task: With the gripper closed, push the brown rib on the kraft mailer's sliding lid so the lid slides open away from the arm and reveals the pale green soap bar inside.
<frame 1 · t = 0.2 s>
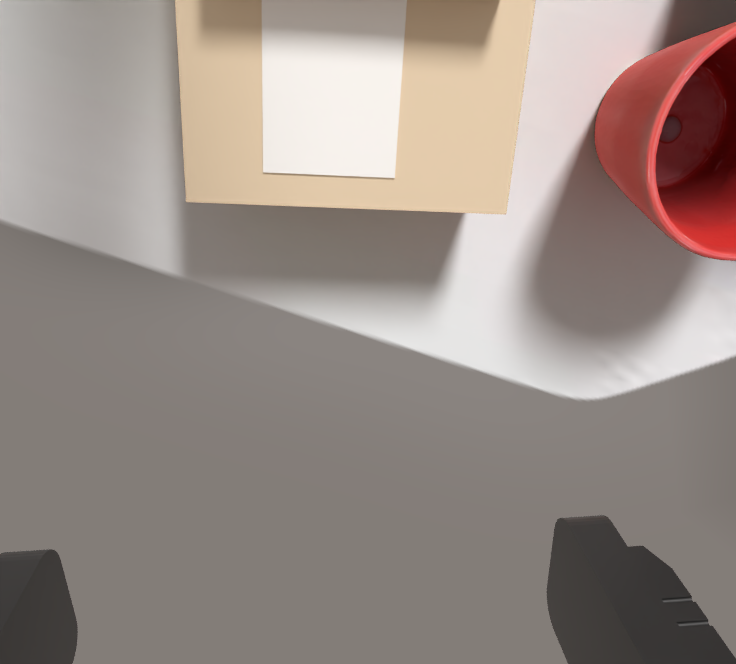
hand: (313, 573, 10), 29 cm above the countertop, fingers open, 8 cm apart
flower pot: (657, 125, 37), on the countertop
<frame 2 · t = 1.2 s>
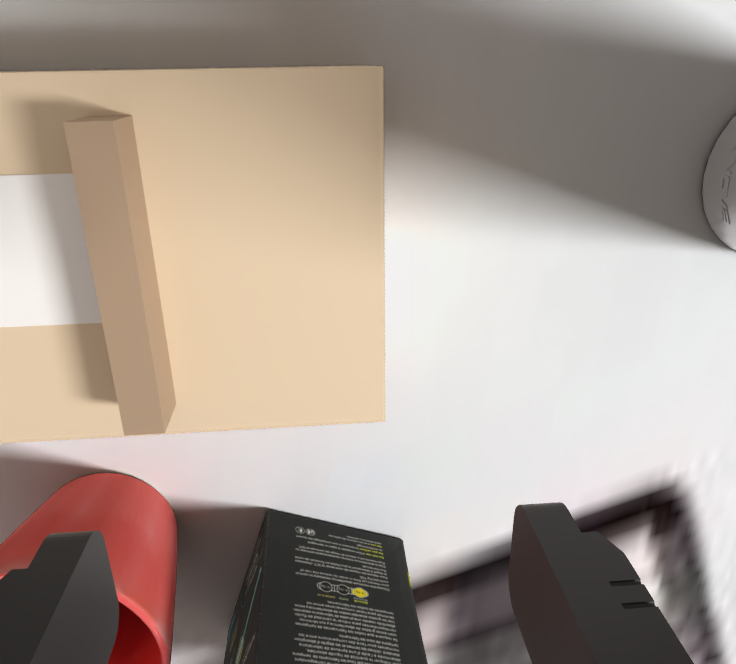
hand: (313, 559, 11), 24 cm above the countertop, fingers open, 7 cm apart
tampon box: (314, 581, 42), on the countertop
mailer: (171, 230, 32), on the countertop
flower pot: (113, 521, 39), on the countertop
lid: (130, 280, 25), point 8 cm above the countertop, slide at 0.0 cm
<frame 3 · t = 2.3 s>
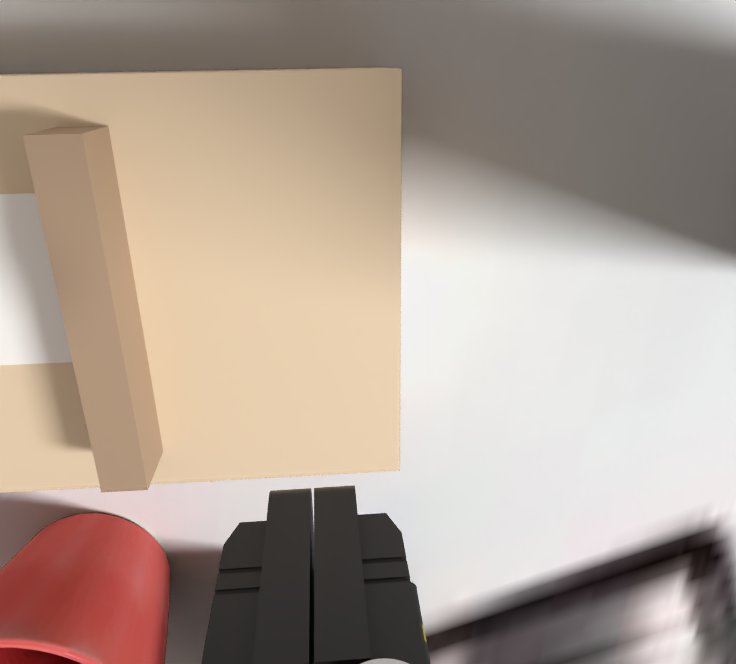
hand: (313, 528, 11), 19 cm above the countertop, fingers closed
tampon box: (319, 628, 39), on the countertop
mailer: (162, 251, 29), on the countertop
flower pot: (100, 564, 35), on the countertop
lid: (108, 315, 21), point 8 cm above the countertop, slide at 0.0 cm
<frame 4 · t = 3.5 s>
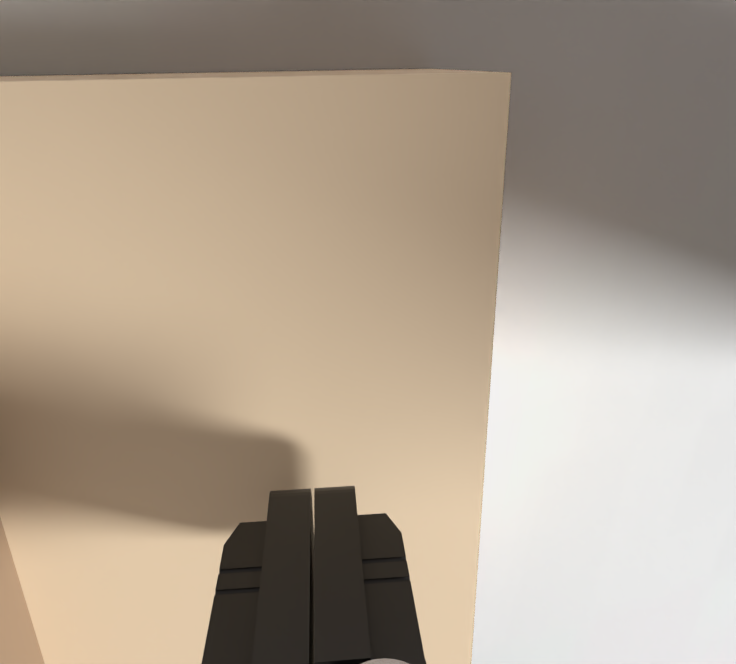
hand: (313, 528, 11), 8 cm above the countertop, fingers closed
mailer: (83, 355, 18), on the countertop
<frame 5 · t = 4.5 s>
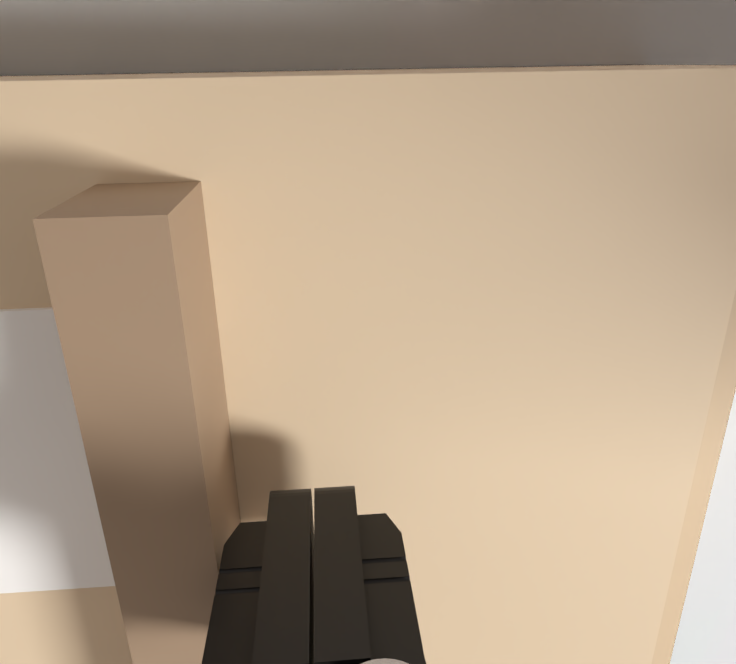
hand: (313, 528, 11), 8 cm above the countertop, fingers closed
mailer: (281, 344, 19), on the countertop
lid: (188, 524, 11), point 8 cm above the countertop, slide at 1.3 cm, touching gripper
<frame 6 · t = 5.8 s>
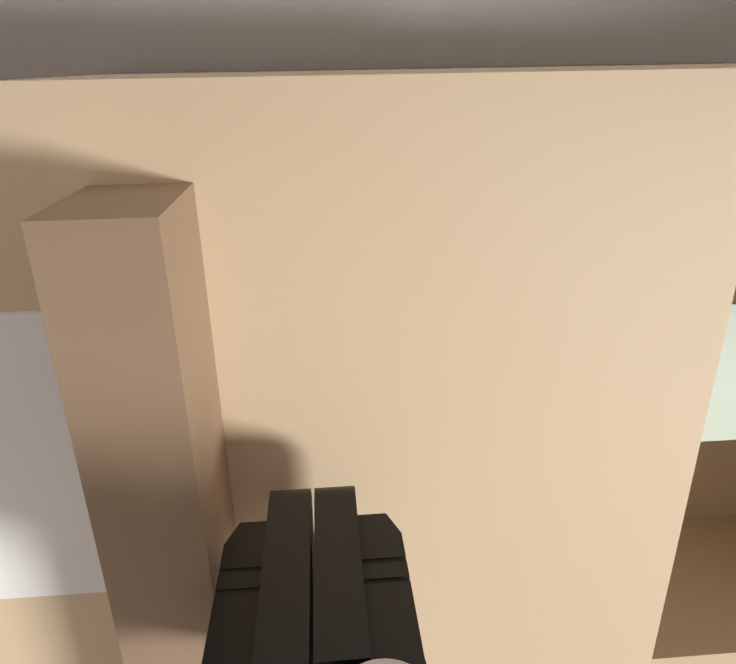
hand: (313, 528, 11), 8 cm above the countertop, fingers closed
mailer: (496, 336, 19), on the countertop
lid: (181, 530, 11), point 8 cm above the countertop, slide at 7.9 cm, touching gripper
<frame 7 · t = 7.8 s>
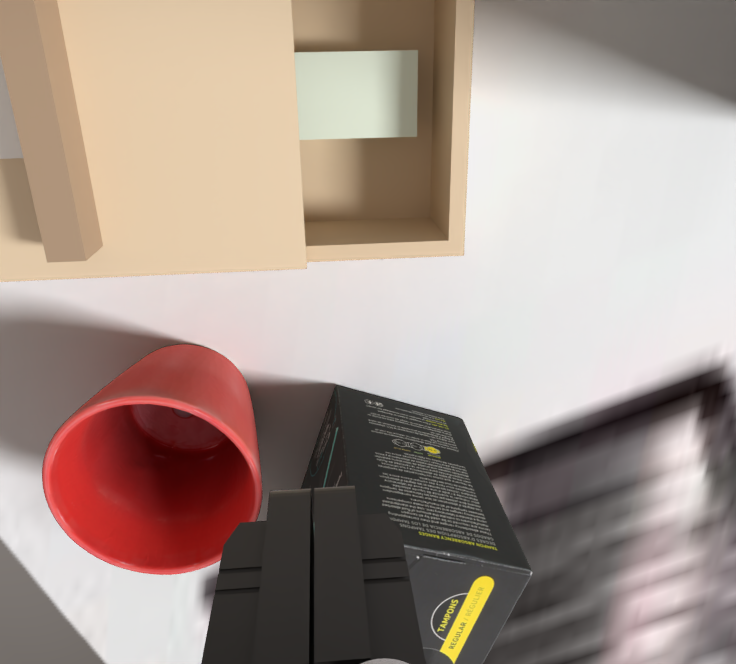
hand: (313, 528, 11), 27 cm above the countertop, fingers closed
tampon box: (376, 463, 44), on the countertop
mailer: (258, 95, 34), on the countertop
flower pot: (188, 397, 40), on the countertop
lid: (50, 108, 26), point 8 cm above the countertop, slide at 7.9 cm
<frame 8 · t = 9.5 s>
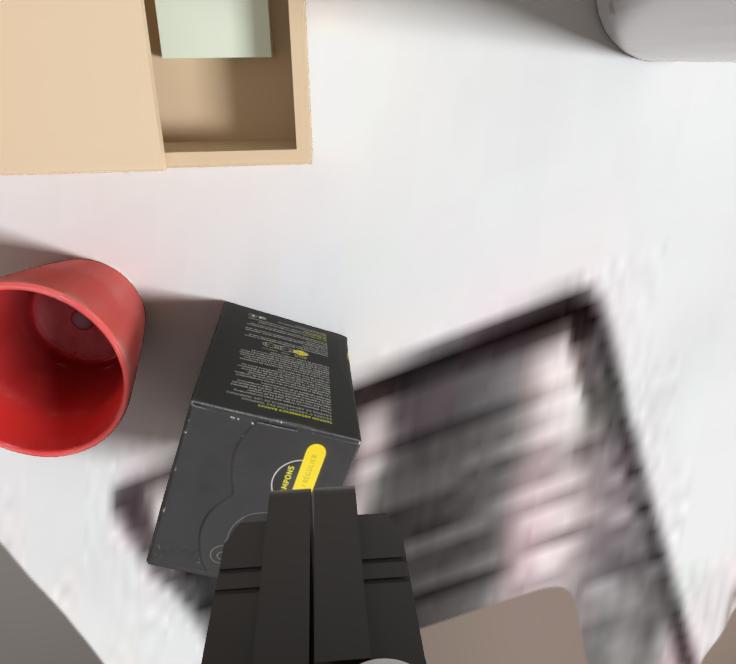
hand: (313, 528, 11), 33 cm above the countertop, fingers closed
tampon box: (269, 379, 47), on the countertop
mailer: (134, 22, 37), on the countertop
flower pot: (88, 311, 44), on the countertop
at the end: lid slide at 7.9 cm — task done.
